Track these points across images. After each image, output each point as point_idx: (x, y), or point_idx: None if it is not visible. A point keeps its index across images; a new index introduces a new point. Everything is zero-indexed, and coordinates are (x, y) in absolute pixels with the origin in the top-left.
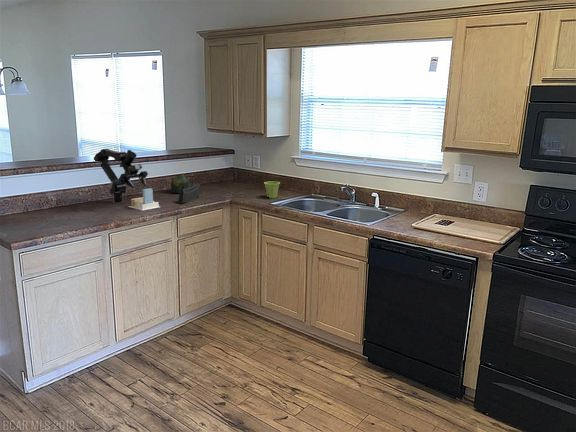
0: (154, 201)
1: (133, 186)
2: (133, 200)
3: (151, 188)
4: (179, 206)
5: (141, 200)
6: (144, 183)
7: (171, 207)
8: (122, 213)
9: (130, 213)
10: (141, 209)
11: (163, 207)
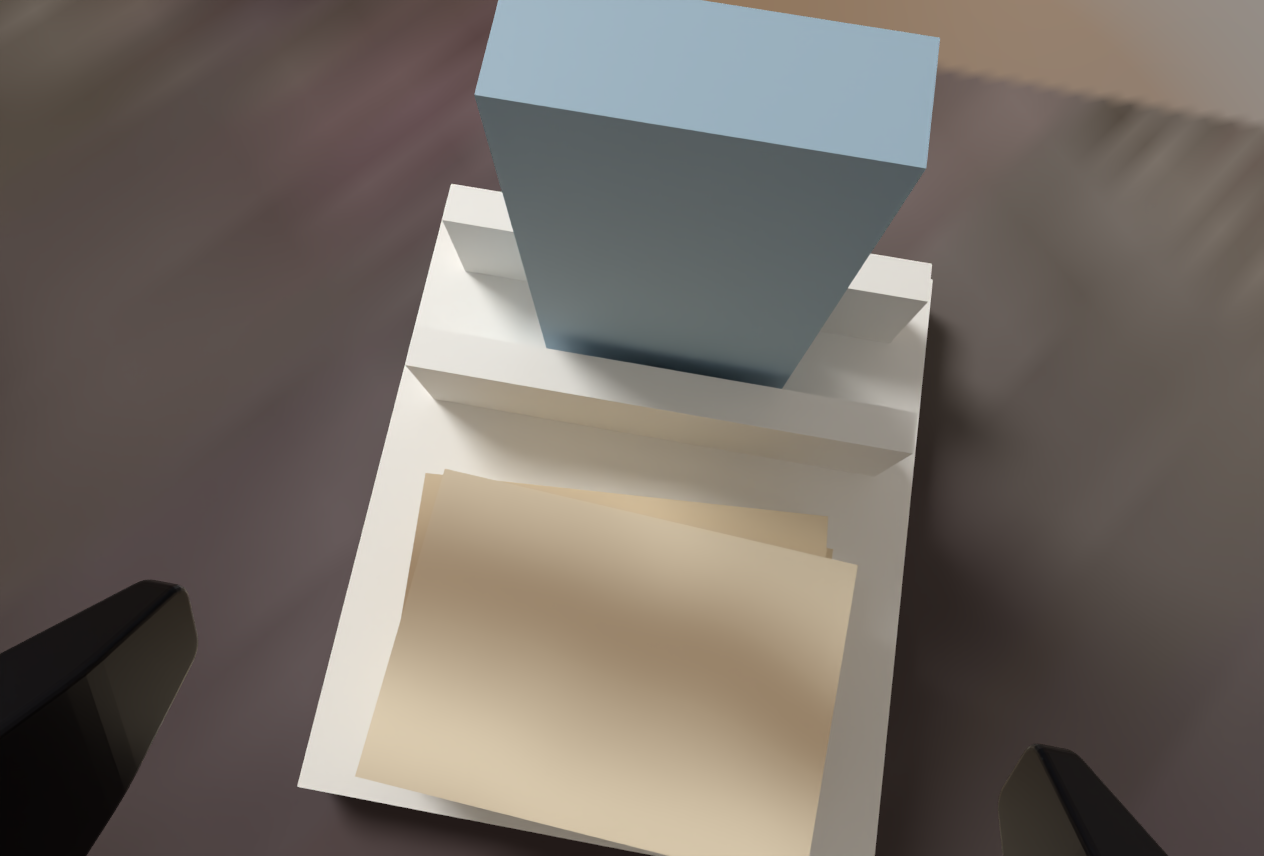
0: (421, 329)
1: (1076, 769)
2: (821, 748)
3: (495, 29)
4: (78, 85)
5: (695, 528)
6: (75, 730)
7: (231, 152)
8: (1224, 596)
9: (1110, 455)
10: (888, 352)
11: (310, 279)
